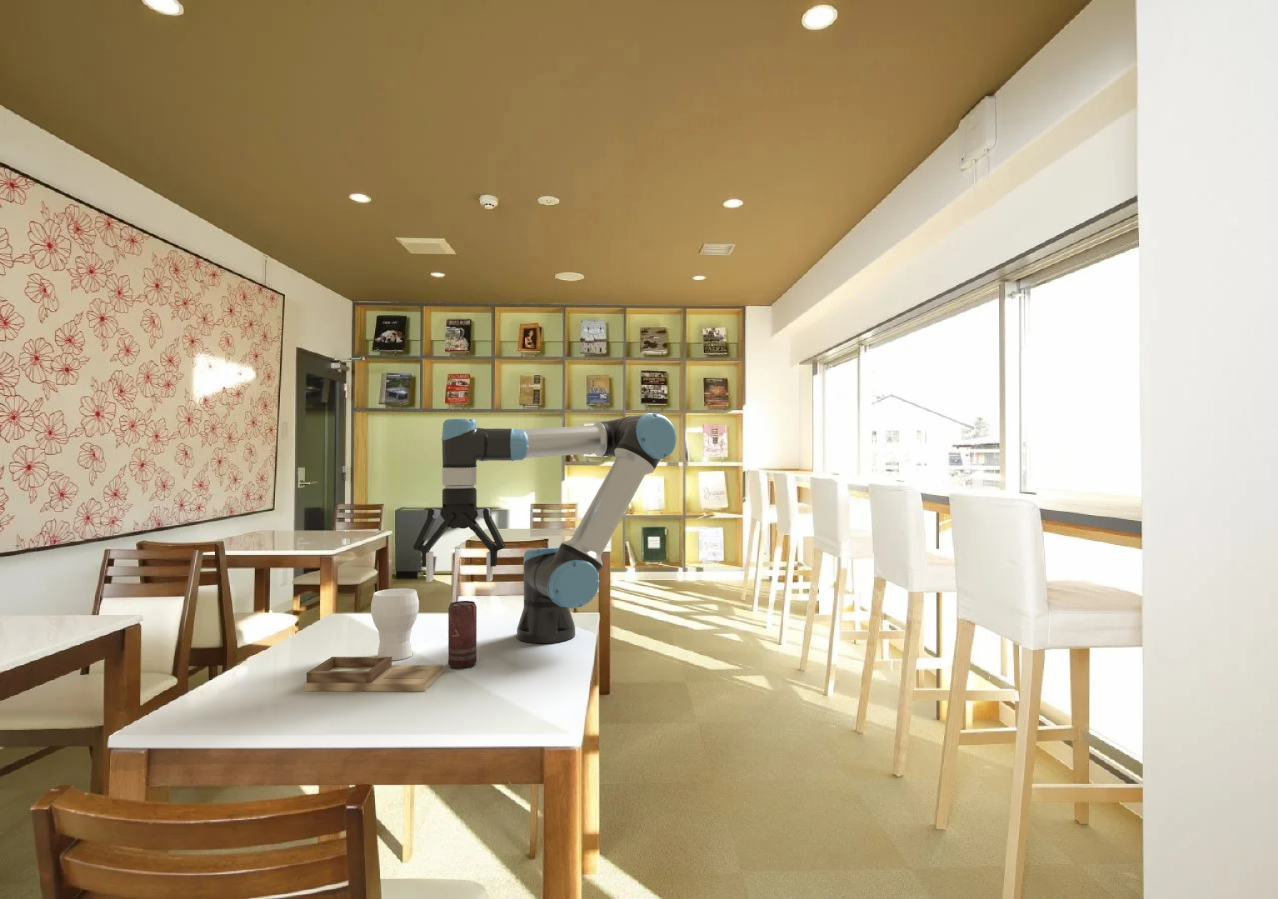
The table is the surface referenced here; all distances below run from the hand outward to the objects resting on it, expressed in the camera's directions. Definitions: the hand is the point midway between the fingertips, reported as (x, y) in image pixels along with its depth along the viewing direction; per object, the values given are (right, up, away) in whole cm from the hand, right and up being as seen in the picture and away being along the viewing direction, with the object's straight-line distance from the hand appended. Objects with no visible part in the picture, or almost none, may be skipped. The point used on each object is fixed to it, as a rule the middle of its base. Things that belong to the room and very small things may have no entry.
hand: (459, 581), depth 151 cm
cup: (-17, -19, +6) cm, 26 cm away
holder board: (-14, -19, -12) cm, 26 cm away
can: (+1, -19, -1) cm, 19 cm away
